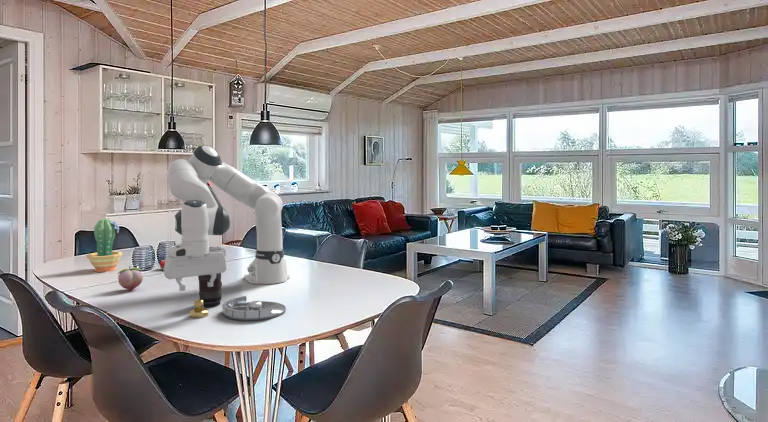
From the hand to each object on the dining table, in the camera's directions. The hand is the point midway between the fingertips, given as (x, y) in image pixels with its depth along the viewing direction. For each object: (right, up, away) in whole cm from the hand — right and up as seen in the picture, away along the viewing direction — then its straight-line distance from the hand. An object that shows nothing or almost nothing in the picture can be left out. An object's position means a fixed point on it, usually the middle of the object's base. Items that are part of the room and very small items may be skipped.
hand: (196, 288), depth 175 cm
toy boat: (-40, -3, +78) cm, 87 cm away
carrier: (+19, -9, +5) cm, 22 cm away
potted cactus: (-72, -3, +75) cm, 105 cm away
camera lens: (0, -8, +14) cm, 17 cm away
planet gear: (+1, -10, +1) cm, 10 cm away
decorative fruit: (-40, -6, +36) cm, 54 cm away
